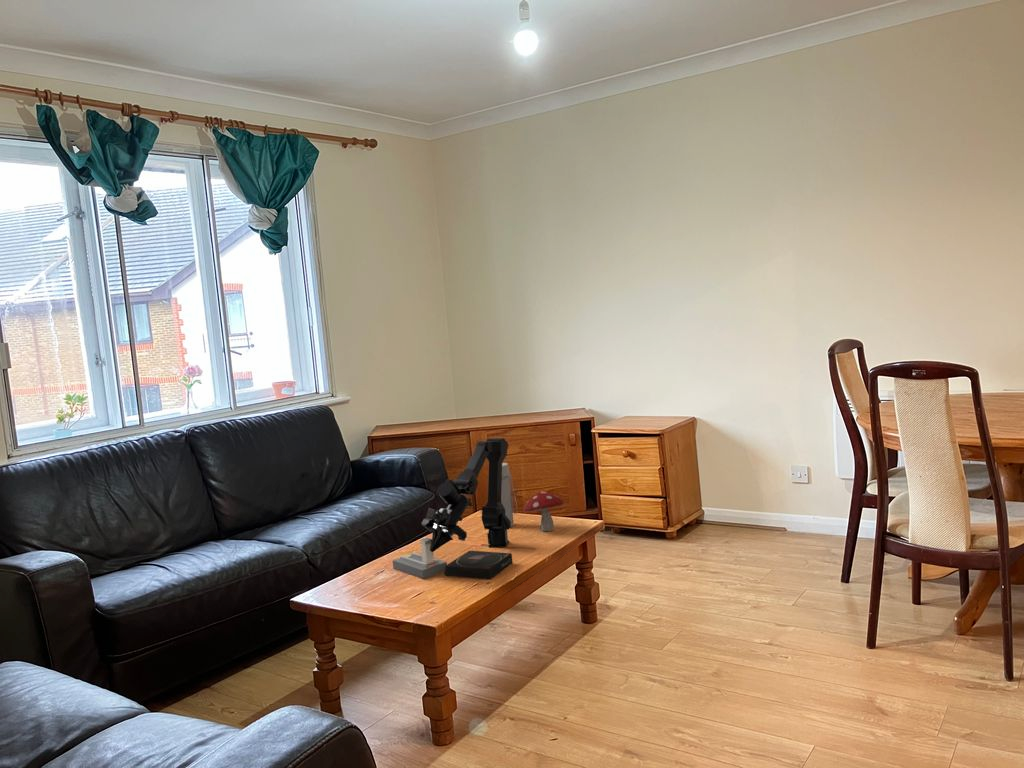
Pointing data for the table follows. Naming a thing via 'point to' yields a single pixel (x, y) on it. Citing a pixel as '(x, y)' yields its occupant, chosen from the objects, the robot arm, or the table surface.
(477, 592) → the table surface
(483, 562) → the portable cd player
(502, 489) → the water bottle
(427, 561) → the breaker handle
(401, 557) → the breaker housing
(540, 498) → the decorative mushroom
